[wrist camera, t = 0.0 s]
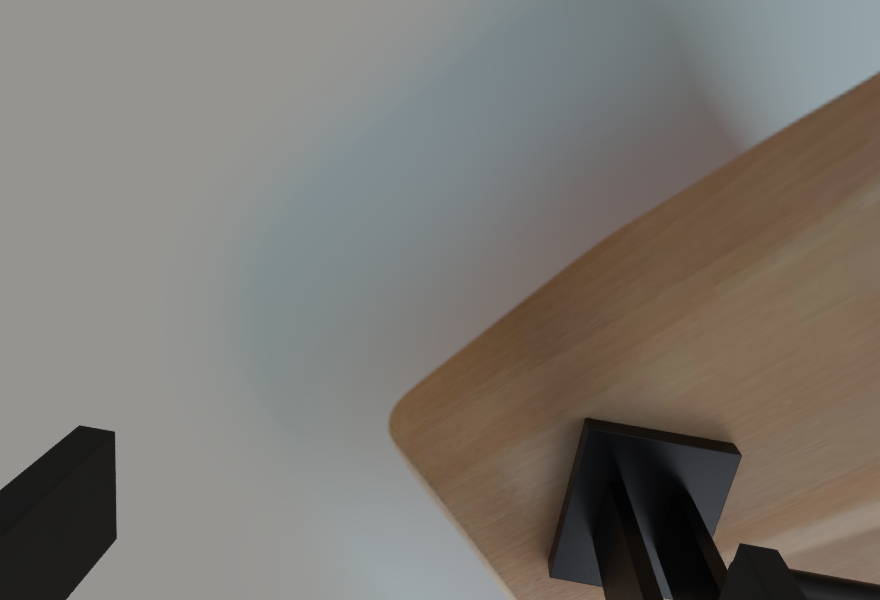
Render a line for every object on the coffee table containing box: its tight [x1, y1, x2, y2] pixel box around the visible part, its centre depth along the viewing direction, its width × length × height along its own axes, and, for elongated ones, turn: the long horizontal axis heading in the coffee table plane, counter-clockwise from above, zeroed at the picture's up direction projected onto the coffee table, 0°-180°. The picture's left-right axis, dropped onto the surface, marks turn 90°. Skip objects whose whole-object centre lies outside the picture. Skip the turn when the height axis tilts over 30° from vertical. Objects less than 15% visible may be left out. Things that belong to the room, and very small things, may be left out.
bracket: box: [548, 418, 742, 600], centre depth 34 cm, size 11×9×14 cm
